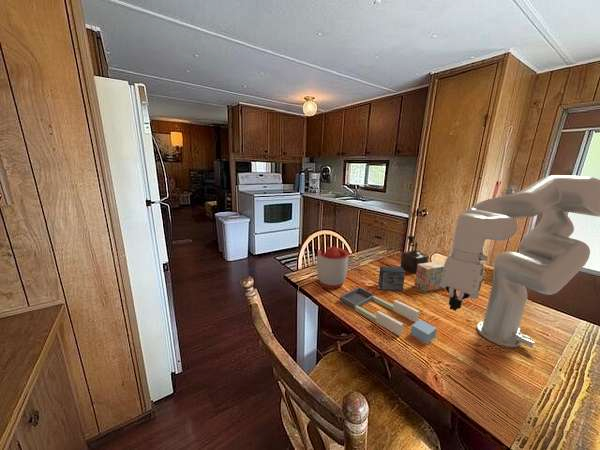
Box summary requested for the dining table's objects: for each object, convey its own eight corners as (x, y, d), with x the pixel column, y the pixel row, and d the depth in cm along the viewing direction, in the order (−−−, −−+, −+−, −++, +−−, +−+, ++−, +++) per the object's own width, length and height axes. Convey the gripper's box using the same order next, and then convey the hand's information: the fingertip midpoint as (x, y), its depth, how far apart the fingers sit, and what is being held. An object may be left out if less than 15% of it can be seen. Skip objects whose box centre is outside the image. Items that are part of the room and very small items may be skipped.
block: (435, 337, 87) (436, 328, 86) (426, 344, 83) (428, 334, 82) (418, 328, 91) (420, 319, 90) (410, 334, 88) (411, 325, 87)
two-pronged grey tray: (417, 321, 95) (419, 311, 94) (399, 336, 87) (401, 325, 86) (358, 291, 117) (359, 282, 116) (339, 300, 108) (340, 291, 107)
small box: (399, 285, 123) (401, 266, 120) (403, 292, 117) (406, 272, 114) (377, 284, 124) (380, 265, 121) (380, 290, 118) (383, 270, 115)
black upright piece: (427, 271, 139) (432, 241, 135) (412, 274, 136) (417, 243, 131) (407, 261, 153) (411, 234, 149) (393, 263, 150) (397, 235, 145)
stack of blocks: (446, 280, 129) (450, 259, 126) (457, 286, 123) (461, 263, 120) (413, 285, 123) (417, 263, 120) (423, 292, 117) (427, 268, 114)
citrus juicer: (329, 272, 136) (330, 238, 131) (353, 285, 122) (356, 247, 117) (307, 280, 126) (308, 244, 121) (331, 294, 113) (333, 254, 108)
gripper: (499, 259, 70) (485, 315, 74) (443, 245, 81) (434, 294, 85) (492, 266, 65) (477, 325, 69) (434, 250, 76) (424, 301, 81)
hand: (454, 308), depth 77 cm, fingers closed
